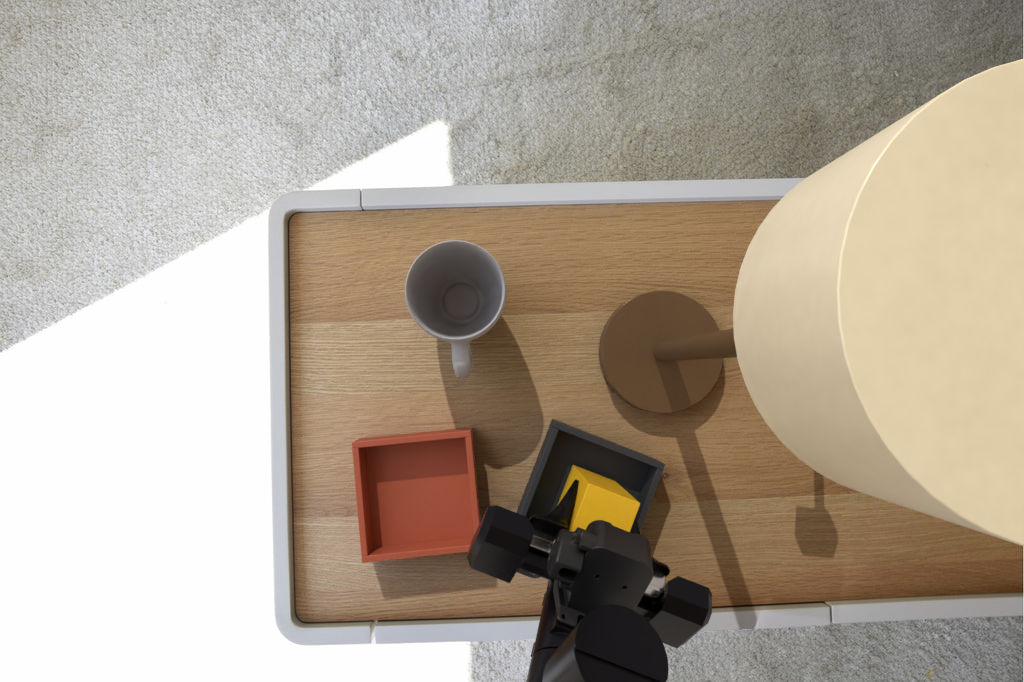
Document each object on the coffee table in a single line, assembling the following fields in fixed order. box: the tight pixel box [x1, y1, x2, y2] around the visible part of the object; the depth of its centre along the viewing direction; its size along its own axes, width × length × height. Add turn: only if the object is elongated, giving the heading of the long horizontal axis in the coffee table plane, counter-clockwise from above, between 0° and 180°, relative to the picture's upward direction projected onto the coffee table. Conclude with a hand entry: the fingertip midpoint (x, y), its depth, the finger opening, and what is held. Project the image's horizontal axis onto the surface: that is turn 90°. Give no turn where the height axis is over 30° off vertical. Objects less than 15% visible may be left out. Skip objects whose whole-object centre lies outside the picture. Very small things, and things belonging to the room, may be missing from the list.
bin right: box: [515, 418, 666, 532], centre depth 63 cm, size 11×11×4 cm
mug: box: [404, 239, 508, 379], centre depth 61 cm, size 12×9×10 cm
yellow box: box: [557, 465, 640, 532], centre depth 58 cm, size 4×4×11 cm
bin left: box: [351, 426, 482, 564], centre depth 63 cm, size 11×11×4 cm
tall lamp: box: [598, 58, 1024, 547], centre depth 42 cm, size 14×14×48 cm
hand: (601, 492), depth 58 cm, fingers closed on yellow box, 4 cm apart
